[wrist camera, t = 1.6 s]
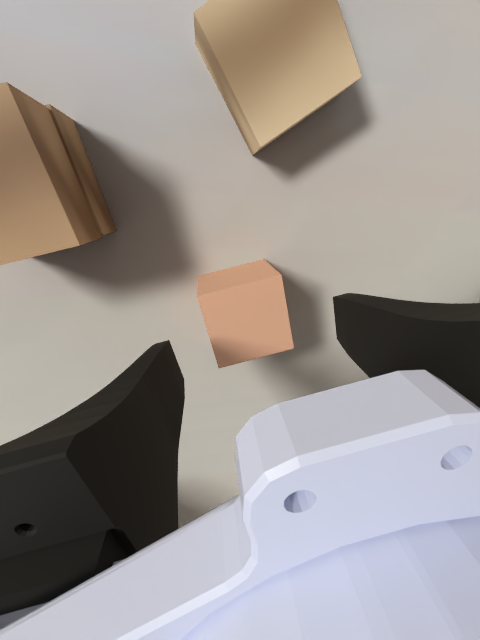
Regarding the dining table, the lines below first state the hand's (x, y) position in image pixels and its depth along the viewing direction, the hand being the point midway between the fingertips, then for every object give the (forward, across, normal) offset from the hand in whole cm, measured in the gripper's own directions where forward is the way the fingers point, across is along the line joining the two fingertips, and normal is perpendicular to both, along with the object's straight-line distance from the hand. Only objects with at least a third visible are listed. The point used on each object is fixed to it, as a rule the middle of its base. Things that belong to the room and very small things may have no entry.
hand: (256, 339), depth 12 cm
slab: (+6, -4, -10) cm, 13 cm away
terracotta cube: (+6, 0, 0) cm, 6 cm away
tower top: (+3, +8, -8) cm, 12 cm away
